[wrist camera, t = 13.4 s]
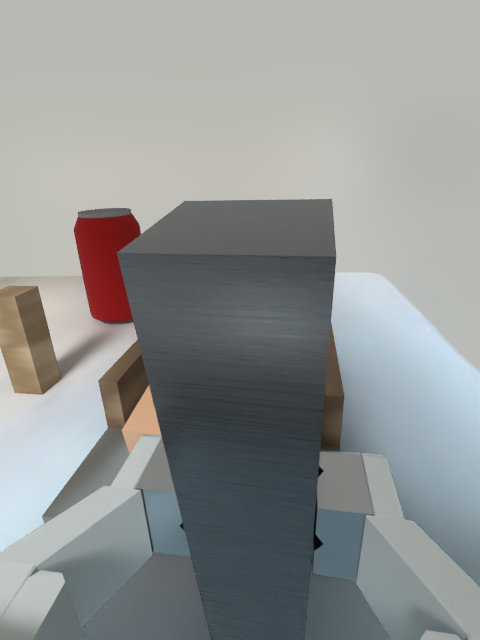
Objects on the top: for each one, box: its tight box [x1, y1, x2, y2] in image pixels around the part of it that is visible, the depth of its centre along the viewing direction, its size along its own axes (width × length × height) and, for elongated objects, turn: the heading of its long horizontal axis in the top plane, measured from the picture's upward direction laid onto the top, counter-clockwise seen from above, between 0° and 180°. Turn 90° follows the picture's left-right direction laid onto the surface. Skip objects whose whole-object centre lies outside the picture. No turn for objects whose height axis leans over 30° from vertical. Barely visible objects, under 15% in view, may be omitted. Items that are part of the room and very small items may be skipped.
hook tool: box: [117, 199, 336, 640], centre depth 13 cm, size 8×13×14 cm, turn 169°
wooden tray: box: [42, 325, 344, 561], centre depth 24 cm, size 14×19×4 cm
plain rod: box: [0, 286, 61, 394], centre depth 28 cm, size 2×2×8 cm
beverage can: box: [74, 208, 141, 324], centre depth 41 cm, size 7×7×12 cm
